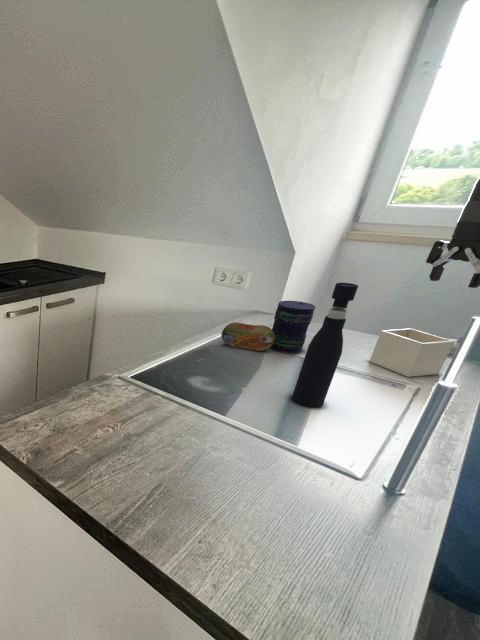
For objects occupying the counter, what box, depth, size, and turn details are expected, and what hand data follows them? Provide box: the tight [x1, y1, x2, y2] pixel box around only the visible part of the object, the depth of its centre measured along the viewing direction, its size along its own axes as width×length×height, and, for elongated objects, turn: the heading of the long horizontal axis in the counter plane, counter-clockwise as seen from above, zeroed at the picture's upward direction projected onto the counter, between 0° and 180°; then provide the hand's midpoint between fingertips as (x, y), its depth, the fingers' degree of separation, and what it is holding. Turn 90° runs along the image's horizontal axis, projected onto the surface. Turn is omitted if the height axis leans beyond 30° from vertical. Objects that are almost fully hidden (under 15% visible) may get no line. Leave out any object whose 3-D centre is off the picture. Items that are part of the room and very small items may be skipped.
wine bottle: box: [291, 282, 359, 409], centre depth 92 cm, size 6×6×30 cm
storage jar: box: [269, 300, 316, 354], centre depth 127 cm, size 10×10×15 cm
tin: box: [221, 321, 275, 352], centre depth 129 cm, size 15×3×8 cm, turn 55°
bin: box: [368, 327, 455, 378], centre depth 112 cm, size 14×11×10 cm
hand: (452, 283), depth 103 cm, fingers open, 8 cm apart
